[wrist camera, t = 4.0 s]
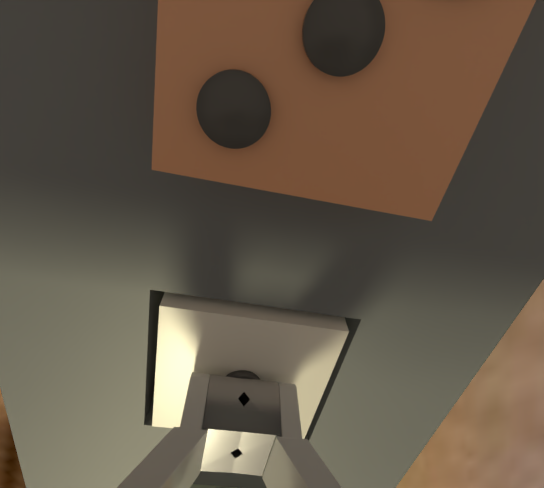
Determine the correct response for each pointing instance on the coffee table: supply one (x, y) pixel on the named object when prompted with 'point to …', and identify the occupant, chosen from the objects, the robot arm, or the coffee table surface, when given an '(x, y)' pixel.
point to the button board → (233, 258)
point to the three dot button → (328, 94)
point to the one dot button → (242, 350)
